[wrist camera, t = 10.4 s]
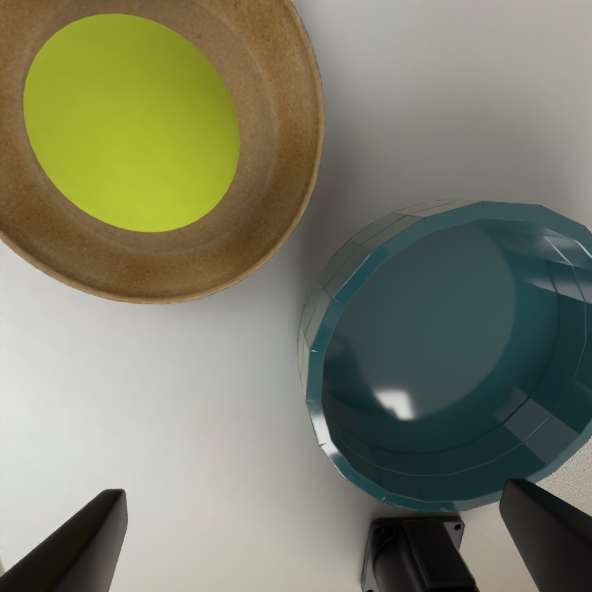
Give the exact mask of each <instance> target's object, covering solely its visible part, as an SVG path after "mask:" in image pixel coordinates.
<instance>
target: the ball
mask: <svg viewBox="0 0 592 592" xmlns="http://www.w3.org/2000/svg"><path fill="white" fill-rule="evenodd" d="M23 106H24V119H25V125H26V131H27V134H28V137H29V140H30V143H31V146H32V148H33V150H34V153H35V155H36V157H37V159H38V161H39V163H40V165H41V166H42V168H43V169H44V171H45V173H46V174H47V176H48V177H49V178H50V180H51V181H52V182H53V183H54V185H55V186H56V187H57V188H58V189H59V190H60V191H61V192H62V193H63V194H64V195H65V196H66V197H67V198H68V199H69V200H70V201H71V202H72V203H74V204H75V205H76V206H77V207H79V208H80V209H82V210H83V211H85V212H86V213H88V214H90V215H91V216H93V217H95V218H97V219H99V220H101V221H103V222H105V223H108V224H111V225H113V226H116V227H119V228H123V229H127V230H132V231H139V232H162V231H169V230H173V229H178V228H180V227H183V226H186V225H189V224H191V223H193V222H195V221H197V220H198V219H200V218H201V217H203V216H204V215H206V214H207V213H208V212H209V211H210V210H212V209H213V208H214V207H215V206H216V205H217V204H218V202H219V201H220V200H221V199H222V198H223V196H224V195H225V193H226V192H227V190H228V188H229V186H230V184H231V182H232V180H233V177H234V175H235V172H236V168H237V164H238V159H239V151H240V130H239V123H238V118H237V114H236V110H235V106H234V104H233V101H232V98H231V96H230V93H229V91H228V89H227V88H226V86H225V84H224V82H223V80H222V78H221V77H220V75H219V74H218V72H217V71H216V69H215V68H214V66H213V65H212V64H211V63H210V62H209V60H208V59H207V58H206V57H205V56H204V54H202V53H201V52H200V51H199V50H198V49H197V48H196V47H195V46H194V45H193V44H192V43H190V42H189V41H188V40H186V39H185V38H184V37H182V36H181V35H180V34H178V33H176V32H175V31H173V30H171V29H169V28H168V27H166V26H164V25H162V24H159V23H157V22H154V21H152V20H149V19H145V18H142V17H138V16H134V15H126V14H100V15H95V16H90V17H85V18H83V19H80V20H77V21H75V22H72V23H70V24H69V25H67V26H65V27H64V28H62V29H61V30H59V31H58V32H56V33H55V34H54V35H53V36H52V37H51V38H50V39H49V40H48V41H46V43H45V44H44V45H43V47H42V48H41V49H40V51H39V52H38V53H37V55H36V57H35V59H34V61H33V63H32V65H31V67H30V69H29V72H28V76H27V79H26V82H25V89H24V97H23Z"/></svg>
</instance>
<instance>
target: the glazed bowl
mask: <svg viewBox="0 0 592 592" xmlns="http://www.w3.org/2000/svg"><path fill="white" fill-rule="evenodd" d="M298 370H299V375H300V379H301V383H302V388H303V392H304V396H305V401H306V405H307V408H308V411H309V415H310V418H311V422H312V425H313V429H314V432H315V435H316V439H317V442H318V445H319V446H320V448H321V449H322V450H323V452H324V453H325V454H326V456H327V457H328V458H329V459H330V461H331V462H332V463H333V465H334V466H335V467H336V469H337V470H338V471H339V472H340V474H341V475H342V476H343V478H344V479H346V480H347V481H348V482H350V483H351V484H353V485H355V486H356V487H358V488H359V489H361V490H363V491H364V492H366V493H367V494H369V495H371V496H372V497H374V498H375V499H377V500H379V501H381V502H383V503H387V504H391V505H395V506H400V507H404V508H408V509H412V510H416V511H420V512H445V511H467V510H471V509H474V508H477V507H481V506H484V505H487V504H491V503H494V502H497V501H500V500H501V496H502V492H503V488H504V484H505V482H506V480H507V479H511V478H523V479H526V480H528V481H530V482H532V483H533V484H535V483H537V482H539V481H540V480H542V479H544V478H546V477H547V476H549V475H551V474H552V473H553V472H555V471H556V470H558V469H559V468H560V467H561V466H562V465H563V464H564V463H565V462H566V461H567V460H568V459H569V458H570V457H572V456H573V455H574V454H575V453H576V452H577V451H578V450H579V449H580V448H581V447H582V446H583V445H584V444H586V443H587V442H588V439H590V438H591V437H592V233H591V232H590V231H589V230H588V229H587V228H586V226H584V225H582V224H580V223H578V222H575V221H573V220H571V219H569V218H567V217H565V216H563V215H560V214H558V213H556V212H554V211H552V210H550V209H548V208H546V207H543V206H541V205H537V204H523V203H507V202H491V201H464V200H438V201H434V202H430V203H423V204H418V205H415V206H411V207H408V208H404V209H401V210H398V211H396V212H394V213H391V214H389V215H387V216H385V217H382V218H381V219H379V220H377V221H376V222H374V223H372V224H371V225H369V226H367V227H366V228H364V229H363V230H361V231H360V232H359V233H358V234H356V235H355V236H354V237H353V238H351V239H350V240H349V241H348V242H347V243H346V244H345V245H344V246H343V247H342V248H341V249H340V250H339V251H338V252H337V253H336V254H335V255H334V256H333V257H332V259H331V260H330V261H329V262H328V264H327V265H326V266H325V268H324V269H323V270H322V272H321V273H320V275H319V277H318V279H317V280H316V282H315V284H314V285H313V287H312V289H311V292H310V294H309V296H308V299H307V301H306V303H305V306H304V310H303V313H302V317H301V321H300V326H299V333H298Z"/></svg>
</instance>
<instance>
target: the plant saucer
mask: <svg viewBox="0 0 592 592" xmlns="http://www.w3.org/2000/svg"><path fill="white" fill-rule="evenodd" d="M100 14H126V15H134V16H138V17H142V18H145V19H149V20H152V21H154V22H157V23H159V24H162V25H164V26H166V27H168V28H169V29H171V30H173V31H175V32H176V33H178V34H180V35H181V36H182V37H184V38H185V39H186V40H188V41H189V42H190V43H192V44H193V45H194V46H195V47H196V48H197V49H198V50H199V51H200V52H201V53H202V54H204V56H205V57H206V58H207V59H208V60H209V62H210V63H211V64H212V65H213V66H214V68H215V69H216V71H217V72H218V74H219V75H220V77H221V78H222V80H223V82H224V84H225V86H226V88H227V89H228V91H229V93H230V96H231V98H232V101H233V104H234V106H235V110H236V114H237V118H238V123H239V130H240V151H239V159H238V164H237V168H236V172H235V175H234V177H233V180H232V182H231V184H230V186H229V188H228V190H227V192H226V193H225V195H224V196H223V198H222V199H221V200H220V201H219V202H218V204H217V205H216V206H215V207H214V208H213V209H212V210H210V211H209V212H208V213H207V214H206V215H204V216H203V217H201V218H200V219H198V220H197V221H195V222H193V223H191V224H189V225H186V226H183V227H180V228H178V229H173V230H169V231H162V232H139V231H132V230H127V229H123V228H119V227H116V226H113V225H111V224H108V223H105V222H103V221H101V220H99V219H97V218H95V217H93V216H91V215H90V214H88V213H86V212H85V211H83V210H82V209H80V208H79V207H77V206H76V205H75V204H74V203H72V202H71V201H70V200H69V199H68V198H67V197H66V196H65V195H64V194H63V193H62V192H61V191H60V190H59V189H58V188H57V187H56V186H55V185H54V183H53V182H52V181H51V180H50V178H49V177H48V176H47V174H46V173H45V171H44V169H43V168H42V166H41V165H40V163H39V161H38V159H37V157H36V155H35V153H34V150H33V148H32V146H31V143H30V140H29V137H28V134H27V131H26V125H25V119H24V106H23V97H24V89H25V82H26V79H27V76H28V72H29V69H30V67H31V65H32V63H33V61H34V59H35V57H36V55H37V53H38V52H39V51H40V49H41V48H42V47H43V45H44V44H45V43H46V41H48V40H49V39H50V38H51V37H52V36H53V35H54V34H55V33H56V32H58V31H59V30H61V29H62V28H64V27H65V26H67V25H69V24H70V23H72V22H75V21H77V20H80V19H83V18H85V17H90V16H95V15H100ZM324 132H325V109H324V99H323V92H322V82H321V76H320V72H319V68H318V64H317V61H316V56H315V54H314V50H313V48H312V45H311V41H310V39H309V36H308V34H307V31H306V29H305V27H304V25H303V23H302V20H301V18H300V16H299V14H298V12H297V10H296V8H295V6H294V5H293V3H292V1H291V0H0V239H1V240H2V241H3V242H4V243H5V244H6V245H8V246H9V247H10V248H11V249H12V250H13V251H14V252H15V253H16V254H18V255H19V256H20V257H22V258H23V259H24V260H26V261H27V262H28V263H30V264H32V265H33V266H34V267H36V268H37V269H39V270H40V271H42V272H44V273H45V274H47V275H49V276H51V277H52V278H54V279H56V280H58V281H60V282H62V283H64V284H66V285H68V286H70V287H72V288H75V289H78V290H80V291H83V292H86V293H89V294H92V295H95V296H98V297H102V298H105V299H109V300H114V301H119V302H129V303H136V304H170V303H175V302H184V301H189V300H195V299H199V298H203V297H206V296H209V295H212V294H214V293H216V292H219V291H221V290H224V289H227V288H228V287H230V286H231V285H233V284H236V283H238V282H240V281H242V280H243V279H245V278H246V277H248V276H249V275H251V274H252V273H253V272H255V271H256V270H258V269H259V268H260V267H261V266H262V265H263V264H265V263H266V262H267V260H269V259H270V258H271V257H272V256H273V255H274V254H275V253H276V252H277V250H278V249H279V248H280V247H281V246H282V245H283V244H284V243H285V241H286V240H287V239H288V238H289V236H290V235H291V233H292V231H293V230H294V228H295V227H296V226H297V224H298V222H299V220H300V219H301V217H302V215H303V213H304V212H305V210H306V207H307V205H308V203H309V201H310V199H311V196H312V194H313V191H314V188H315V184H316V181H317V177H318V174H319V170H320V164H321V158H322V153H323V146H324Z"/></svg>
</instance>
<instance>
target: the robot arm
mask: <svg viewBox="0 0 592 592" xmlns="http://www.w3.org/2000/svg"><path fill="white" fill-rule="evenodd" d="M499 509H500V514H501V516H502V519H503V521H504V523H505V525H506V527H507V529H508V531H509V533H510V535H511V537H512V539H513V541H514V543H515V545H516V547H517V549H518V551H519V553H520V555H521V557H522V559H523V561H524V563H525V565H526V567H527V569H528V570H529V572H530V574H531V576H532V578H533V580H534V582H535V584H536V586H537V588H538V589H539V591H540V592H592V517H591V516H589V515H588V514H586V513H584V512H582V511H581V510H579V509H577V508H575V507H574V506H572V505H570V504H568V503H567V502H565V501H563V500H561V499H560V498H558V497H556V496H554V495H553V494H551V493H549V492H547V491H546V490H544V489H542V488H540V487H539V486H537V485H535V484H533V483H532V482H530V481H528V480H526V479H523V478H511V479H507V480H506V482H505V484H504V488H503V492H502V496H501V500H500V505H499ZM127 524H128V514H127V501H126V493H125V490H123V489H106V490H104V491H102V492H101V493H100V494H98V495H97V496H96V497H95V498H94V499H93V500H91V501H90V502H89V503H88V504H87V505H85V506H84V507H83V508H82V509H81V510H80V511H78V512H77V513H76V514H75V515H74V516H72V517H71V518H70V519H69V520H68V521H66V522H65V523H64V524H63V525H62V526H61V527H59V528H58V529H57V530H56V531H55V532H53V533H52V534H51V535H50V536H49V537H48V538H46V539H45V540H44V541H43V542H42V543H40V544H39V545H38V546H37V547H36V548H34V549H33V550H32V551H31V552H30V553H29V554H27V555H26V556H25V557H24V558H23V559H21V560H20V561H19V562H18V563H17V564H16V565H14V566H13V567H12V568H11V569H10V570H8V571H7V572H6V573H5V574H4V575H2V576H1V577H0V592H109V588H110V585H111V581H112V578H113V575H114V571H115V568H116V564H117V561H118V557H119V554H120V551H121V547H122V544H123V540H124V537H125V533H126V530H127ZM464 527H465V524H464V523H463V521H462V520H461V518H460V517H458V516H447V517H425V518H404V519H382V520H375V521H373V522H372V523H371V525H370V529H369V536H368V543H367V550H366V557H365V564H364V571H363V578H362V585H361V589H362V592H480V591H479V589H478V587H477V585H476V582H475V579H474V577H473V576H472V574H471V572H470V570H469V568H468V567H467V565H466V563H465V561H464V560H463V558H462V556H461V554H460V552H459V548H460V544H461V540H462V536H463V531H464Z"/></svg>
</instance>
